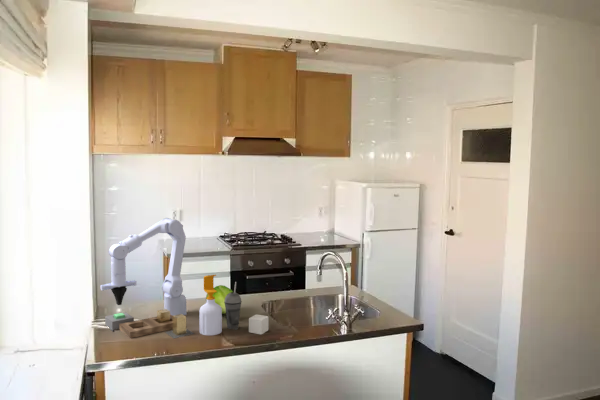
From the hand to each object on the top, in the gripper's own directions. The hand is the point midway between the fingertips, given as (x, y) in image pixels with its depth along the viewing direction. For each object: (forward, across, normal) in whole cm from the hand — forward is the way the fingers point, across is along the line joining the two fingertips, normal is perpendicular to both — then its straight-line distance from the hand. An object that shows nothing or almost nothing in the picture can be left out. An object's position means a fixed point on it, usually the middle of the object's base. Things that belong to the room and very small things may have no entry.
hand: (119, 304), depth 216 cm
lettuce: (+10, -43, +12) cm, 46 cm away
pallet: (+9, -9, +12) cm, 18 cm away
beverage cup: (+10, -37, +31) cm, 49 cm away
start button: (+7, 0, 0) cm, 7 cm away
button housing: (+9, 0, 0) cm, 9 cm away
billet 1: (+10, -14, +12) cm, 21 cm away
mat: (+9, -16, +24) cm, 30 cm away
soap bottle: (+10, -27, +30) cm, 41 cm away
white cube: (+10, -44, +40) cm, 60 cm away
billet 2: (+9, -16, +24) cm, 30 cm away
